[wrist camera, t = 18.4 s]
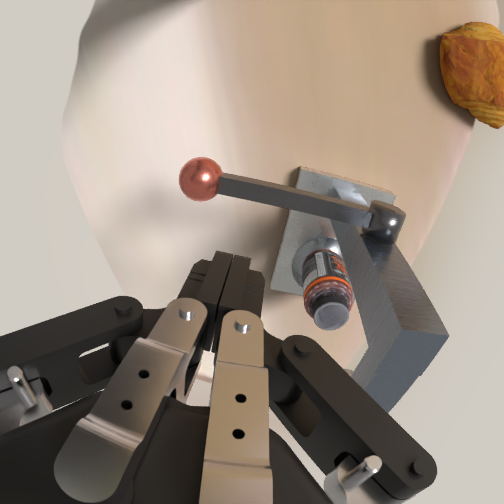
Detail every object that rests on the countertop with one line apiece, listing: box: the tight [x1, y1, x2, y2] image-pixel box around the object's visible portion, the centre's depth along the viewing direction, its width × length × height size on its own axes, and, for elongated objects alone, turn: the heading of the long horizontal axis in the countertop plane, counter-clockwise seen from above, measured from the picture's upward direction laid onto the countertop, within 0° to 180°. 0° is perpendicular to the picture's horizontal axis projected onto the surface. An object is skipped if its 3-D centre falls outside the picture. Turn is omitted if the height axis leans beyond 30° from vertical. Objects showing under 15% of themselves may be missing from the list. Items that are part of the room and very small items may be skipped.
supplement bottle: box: [302, 249, 354, 330], centre depth 38 cm, size 6×6×11 cm
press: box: [270, 166, 449, 413], centre depth 31 cm, size 13×18×28 cm
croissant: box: [440, 22, 504, 129], centre depth 26 cm, size 14×16×8 cm
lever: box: [179, 157, 406, 245], centre depth 24 cm, size 19×4×4 cm, turn 79°
